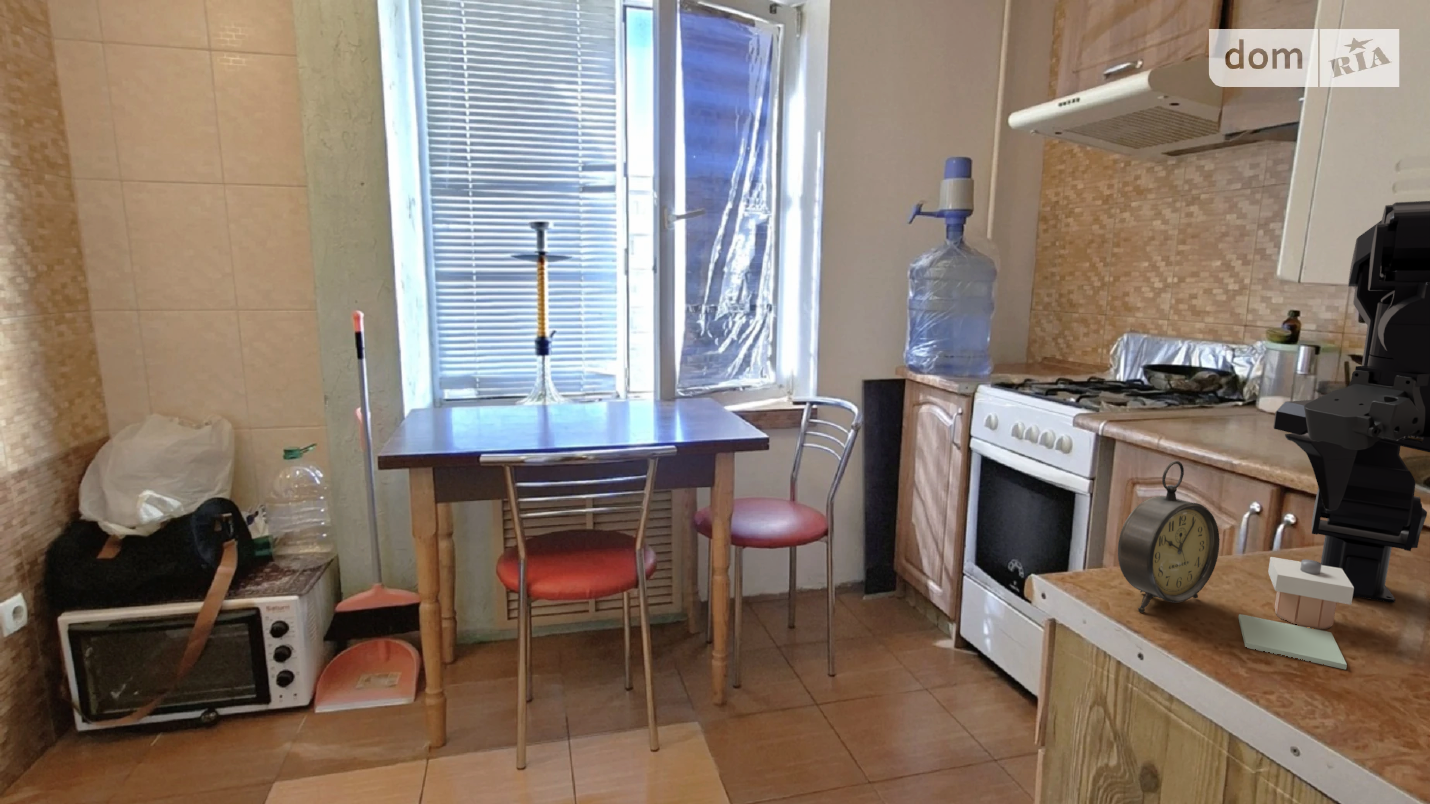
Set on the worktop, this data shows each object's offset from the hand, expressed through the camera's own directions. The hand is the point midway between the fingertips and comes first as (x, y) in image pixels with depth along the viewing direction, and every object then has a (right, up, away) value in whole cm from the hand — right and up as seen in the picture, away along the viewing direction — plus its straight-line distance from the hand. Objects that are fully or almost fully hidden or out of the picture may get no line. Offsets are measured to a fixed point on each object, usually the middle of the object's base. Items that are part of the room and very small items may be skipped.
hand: (1383, 526), depth 64 cm
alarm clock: (-11, -11, +14) cm, 21 cm away
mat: (-4, -12, +6) cm, 14 cm away
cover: (+1, -8, +10) cm, 13 cm away
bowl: (+1, -12, +11) cm, 16 cm away
